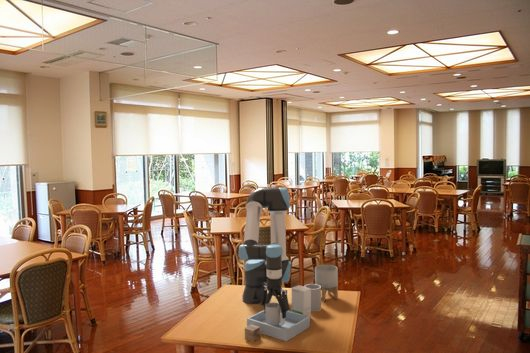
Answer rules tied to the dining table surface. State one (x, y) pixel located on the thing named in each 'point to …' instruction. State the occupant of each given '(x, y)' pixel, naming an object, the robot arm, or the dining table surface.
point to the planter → (327, 279)
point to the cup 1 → (273, 313)
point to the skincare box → (301, 300)
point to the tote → (283, 332)
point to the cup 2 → (315, 296)
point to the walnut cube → (252, 332)
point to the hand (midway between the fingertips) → (275, 322)
